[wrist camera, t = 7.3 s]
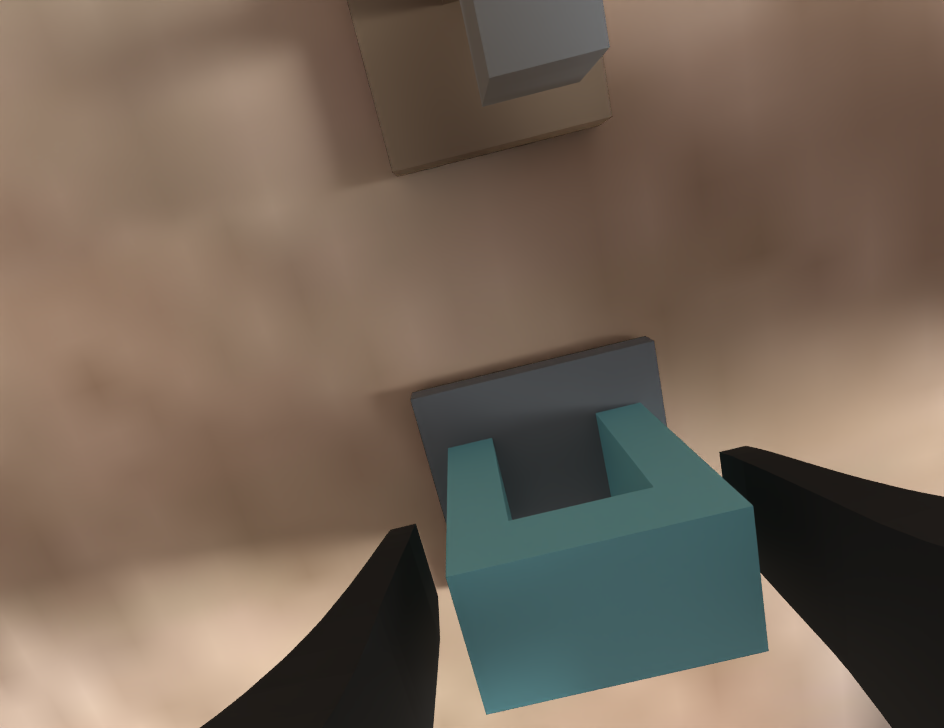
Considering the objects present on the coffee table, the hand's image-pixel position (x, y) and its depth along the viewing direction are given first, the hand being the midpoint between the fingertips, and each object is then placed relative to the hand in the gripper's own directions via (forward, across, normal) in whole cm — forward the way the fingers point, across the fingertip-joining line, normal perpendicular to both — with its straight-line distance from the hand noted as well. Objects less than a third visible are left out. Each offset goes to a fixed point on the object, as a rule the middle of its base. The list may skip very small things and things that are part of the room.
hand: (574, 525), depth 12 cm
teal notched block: (+2, 0, 0) cm, 2 cm away
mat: (+3, 0, 0) cm, 3 cm away
